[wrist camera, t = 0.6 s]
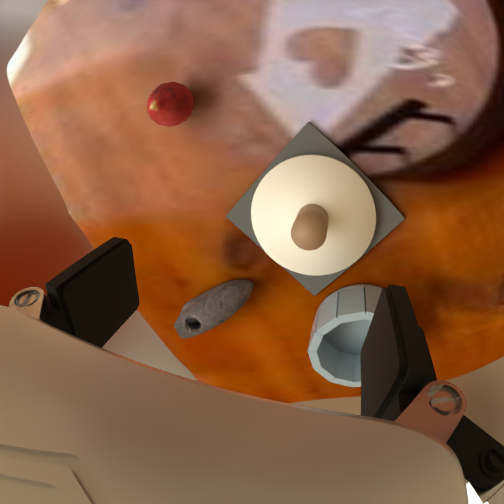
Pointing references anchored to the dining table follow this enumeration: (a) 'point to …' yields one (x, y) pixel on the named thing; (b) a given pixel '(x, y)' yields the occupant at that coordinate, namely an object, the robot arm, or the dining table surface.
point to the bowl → (342, 332)
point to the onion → (170, 104)
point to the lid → (313, 215)
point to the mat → (318, 144)
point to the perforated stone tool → (212, 307)
